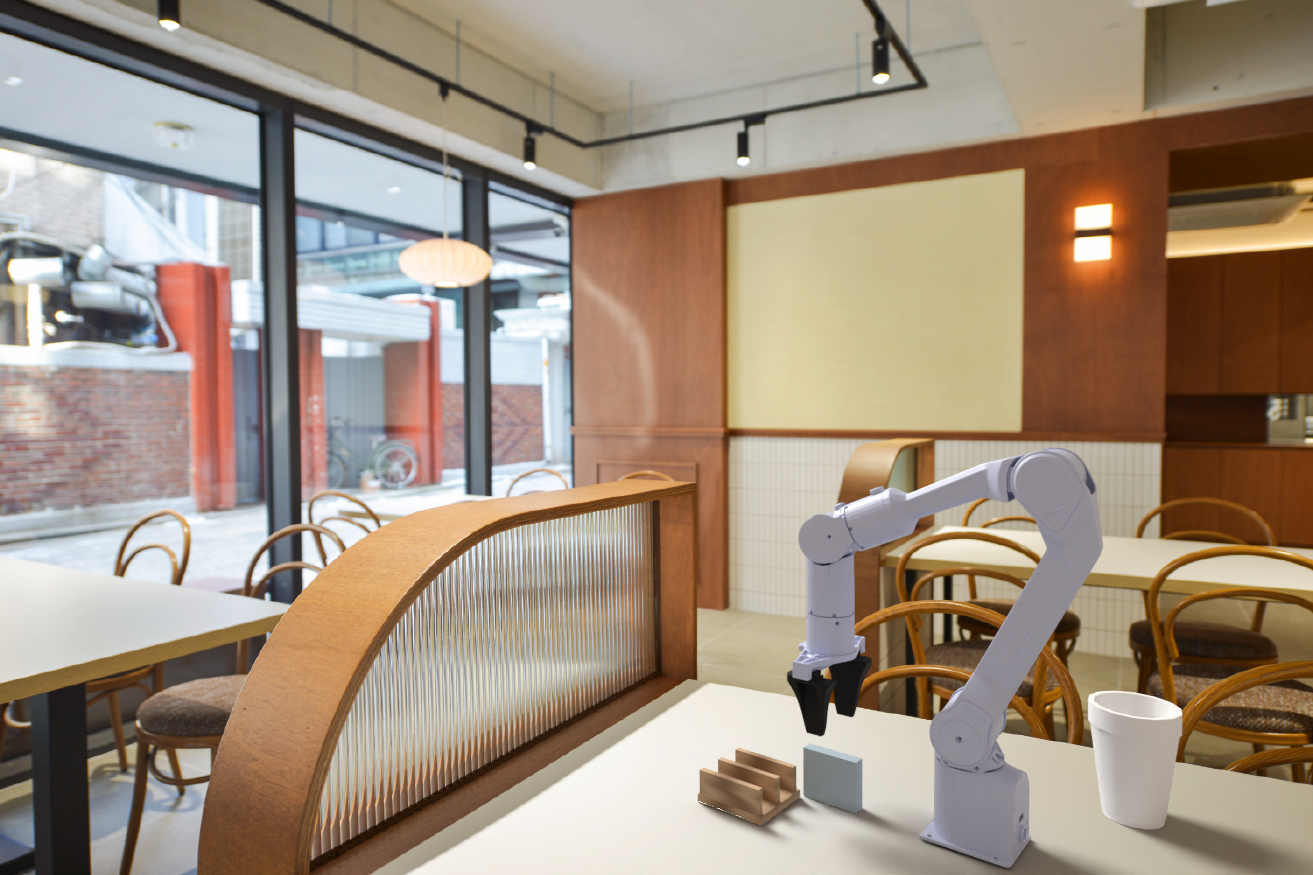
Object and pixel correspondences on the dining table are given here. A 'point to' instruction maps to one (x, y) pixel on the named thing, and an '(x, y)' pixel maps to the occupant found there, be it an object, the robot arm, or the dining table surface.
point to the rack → (750, 786)
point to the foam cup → (1134, 755)
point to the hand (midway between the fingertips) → (830, 724)
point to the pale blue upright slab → (832, 777)
